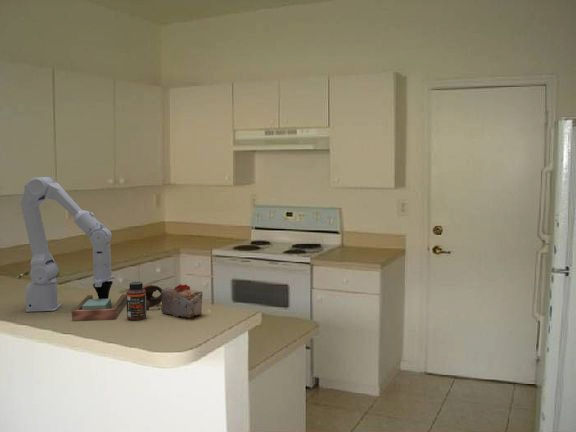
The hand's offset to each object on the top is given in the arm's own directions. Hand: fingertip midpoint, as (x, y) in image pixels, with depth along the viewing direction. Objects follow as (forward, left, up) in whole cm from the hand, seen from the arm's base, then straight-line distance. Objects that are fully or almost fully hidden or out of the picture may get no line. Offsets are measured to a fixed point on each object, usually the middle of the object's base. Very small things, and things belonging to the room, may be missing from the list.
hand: (103, 303), depth 195 cm
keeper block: (0, -9, -2) cm, 9 cm away
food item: (+27, -12, -2) cm, 30 cm away
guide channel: (0, -4, -1) cm, 4 cm away
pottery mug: (+14, 0, -2) cm, 14 cm away
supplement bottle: (+13, -15, -2) cm, 20 cm away
